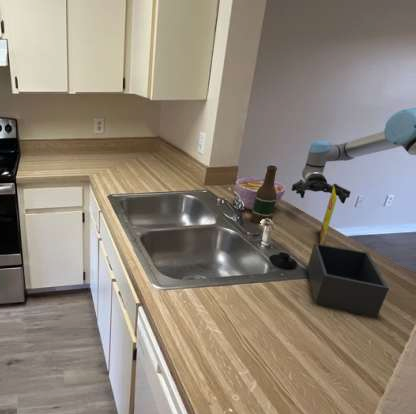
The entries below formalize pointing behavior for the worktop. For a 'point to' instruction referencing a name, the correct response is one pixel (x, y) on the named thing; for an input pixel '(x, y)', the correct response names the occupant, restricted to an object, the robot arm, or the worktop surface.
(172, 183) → the worktop surface
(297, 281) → the worktop surface
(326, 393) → the worktop surface
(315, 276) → the storage bin
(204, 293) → the worktop surface
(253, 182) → the bowl of food
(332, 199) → the food package
